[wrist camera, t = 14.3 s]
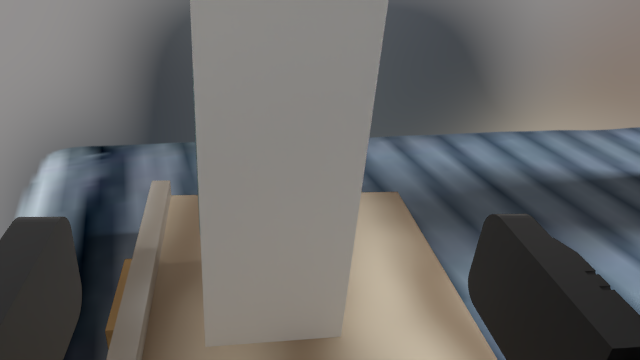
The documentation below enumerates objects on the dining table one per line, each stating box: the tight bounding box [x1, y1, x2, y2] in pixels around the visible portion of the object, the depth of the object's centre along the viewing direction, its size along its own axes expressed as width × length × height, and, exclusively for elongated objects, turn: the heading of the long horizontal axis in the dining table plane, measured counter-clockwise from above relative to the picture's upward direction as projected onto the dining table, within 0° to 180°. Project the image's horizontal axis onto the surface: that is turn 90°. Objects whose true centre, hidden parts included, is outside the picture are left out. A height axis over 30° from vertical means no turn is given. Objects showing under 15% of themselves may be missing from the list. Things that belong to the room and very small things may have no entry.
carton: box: [190, 0, 388, 347], centre depth 19 cm, size 6×6×14 cm
